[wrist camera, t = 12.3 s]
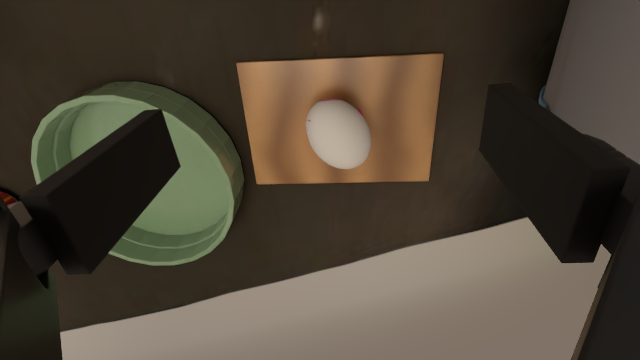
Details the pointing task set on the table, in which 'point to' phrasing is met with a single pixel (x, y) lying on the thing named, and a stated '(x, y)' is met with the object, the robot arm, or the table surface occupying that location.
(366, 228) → the table surface
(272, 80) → the wooden board
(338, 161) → the stress ball
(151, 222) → the bowl
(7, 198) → the soda can
